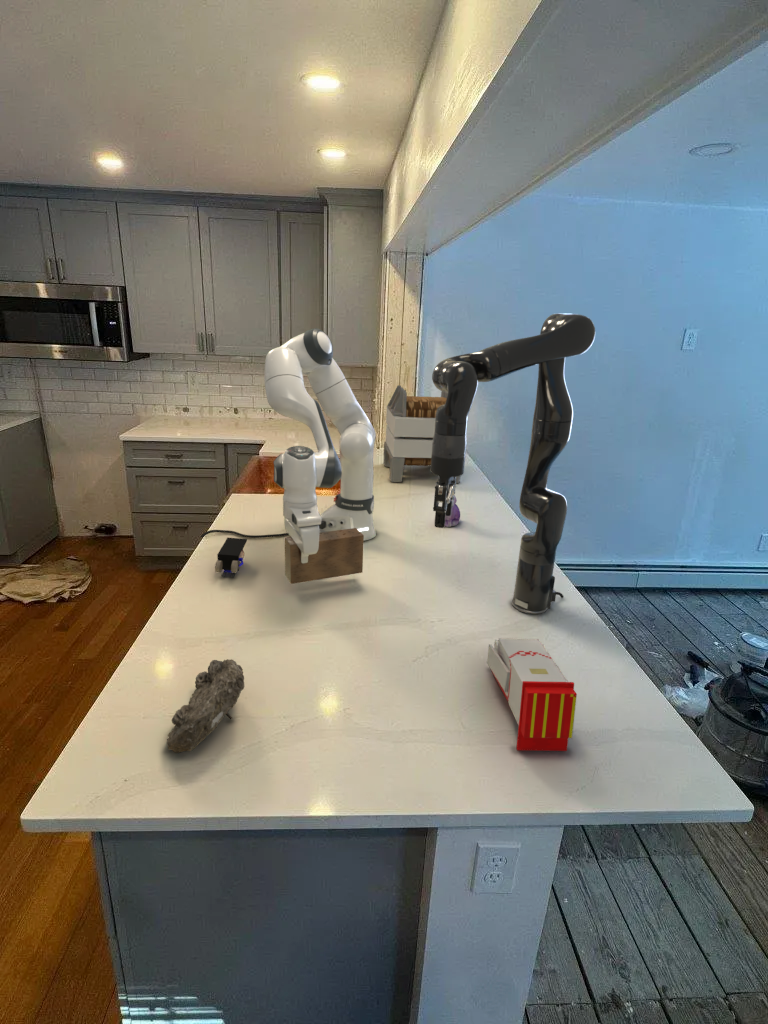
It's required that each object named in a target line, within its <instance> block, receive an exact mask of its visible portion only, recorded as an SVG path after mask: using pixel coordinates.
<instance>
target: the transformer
mask: <svg viewBox="0 0 768 1024" xmlns="http://www.w3.org/2000/svg"><path fill="white" fill-rule="evenodd" d="M440 393H441V394H440V396H415V395H414V396H413V395H412V396H411V395H407V394H408V393H407V390H406V389H404V388H403V387H402V385H399V384H398V385H397V386H396V388H395V390H394V392H393V394H392V395H391V398H390V400H389V402H388V404H387V405H386V413H385V414H386V415H385V423H386V428H385V438H384V442H383V466H384V467H388V468H389V475H388V476H389V477H388V478H389V480H390V482H391V483H402V482H403V475H404V469H405V466H406V467H407V466H411V467H412V466H413V467H415V466H416V467H417V466H418V467H431V455H432V442H433V437H434V431H435V416H436V411H437V408H438V407H439V406H441V405H445V403H446V400H447V396H448V393H446V392H443V391H440ZM459 483H461V476H459V477H456V484H459Z"/></svg>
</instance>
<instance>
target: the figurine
mask: <svg viewBox="0 0 768 1024" xmlns="http://www.w3.org/2000/svg"><path fill="white" fill-rule="evenodd" d="M453 497H454V499H453V500H451V501H452V508H451V515H450V516H445V526H444V527H446V528H449V527H455V526H457V525H458V524H459V523H460V518H461V511H460V508H459V506H458V504H456V503H457V501H458V500H457V497H456V494H454V495H453Z"/></svg>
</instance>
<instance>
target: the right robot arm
mask: <svg viewBox="0 0 768 1024" xmlns="http://www.w3.org/2000/svg"><path fill="white" fill-rule="evenodd" d="M595 338H596V327H595V323H594V322H593V320H592V319H591V318H589V317H588V316H586V315H584V314H579V313H564V312H563V313H562V312H561V313H560V312H558V313H552V314H550V315H549V316H547V317H546V319H545V320H544V322H543V324H542V326H541V329H540V332H539V334H538V335H537V334H536V335H533V336H527V337H522V338H515V339H510V340H507V341H502V342H500V343H496V344H493V345H491V346H488V347H485V348H483V349H480V350H479V351H474V352H469V353H464V354H460V355H455V356H451V357H448V358H445V359H443V360H441V361H440V362H438V363H437V365H436V366H435V367H434V369H433V371H432V374H431V380H432V383H433V385H434V386H435V388H436V389H437V390H438V391H440V392H442V391H443V392H446V393H448V396H447V400H446V403H445V405H441V406H439V407H438V408H437V411H436V416H435V431H434V437H433V442H432V455H431V465H430V468H429V470H430V471H429V472H430V473H431V474H433V475H434V476H438V480H437V481H436V482H435V486H434V498H433V507H432V510H433V512H435V515H434V527H435V528H439V529H443V528H445V527H446V526H445V516H450V515H451V508H452V501H451V500H453V499H454V497H453V495H456V485H457V483H456V477H459V476H460V477H461V476H464V473H465V464H466V455H467V454H466V453H467V430H468V422H469V421H468V419H469V418H468V417H469V413H470V412H471V411H470V410H471V409H472V406H473V403H474V399H475V396H476V393H477V390H478V386H479V383H489V382H492V381H495V380H498V379H500V378H503V377H506V376H508V375H510V374H513V373H516V372H519V371H521V370H524V369H527V368H530V367H533V366H536V365H538V374H537V376H538V377H537V386H536V394H535V395H536V396H535V405H534V412H533V418H532V426H531V434H530V435H531V436H530V444H529V451H528V457H527V463H526V469H525V474H524V479H523V483H522V487H521V491H520V495H519V503H518V504H519V506H518V508H519V512H520V514H521V516H522V517H523V518H524V519H526V520H528V521H531V522H532V523H535V524H536V528H535V531H531V532H527V533H524V534H523V535H522V536H521V539H520V545H519V552H518V558H517V559H518V561H517V568H516V573H515V581H514V590H513V595H512V596H513V597H512V601H511V604H512V606H513V608H514V609H516V610H517V611H519V612H521V613H525V614H529V615H530V614H531V615H539V614H540V615H541V614H544V613H546V612H547V611H548V610H550V609H551V606H552V603H553V602H556V598H557V596H559V597H560V598H561V599H564V598H565V597H564V595H563V593H562V592H560V591H556V590H554V586H555V582H556V577H555V575H554V568H555V561H556V556H557V555H556V554H557V548H558V545H559V544H560V541H561V539H562V537H563V532H564V526H565V522H566V518H567V513H568V502H567V499H566V497H565V496H564V495H563V494H561V493H559V492H558V491H554V490H552V489H549V488H548V479H549V474H550V470H551V467H552V466H553V464H554V463H555V461H556V459H557V458H558V457H559V456H560V455H561V453H562V452H563V450H564V449H565V448H566V446H567V445H568V443H569V441H570V438H571V433H572V425H573V419H574V408H573V403H572V400H571V397H570V393H569V391H568V387H567V384H566V379H565V365H566V364H565V363H566V358H569V357H570V358H571V357H576V356H581V355H582V354H584V353H586V352H587V351H589V349H590V348H591V347H592V345H593V343H594V341H595ZM440 503H441V506H439V504H440Z"/></svg>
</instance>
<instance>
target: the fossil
mask: <svg viewBox="0 0 768 1024" xmlns="http://www.w3.org/2000/svg"><path fill="white" fill-rule="evenodd" d="M243 670H244V669H243V667H242V665H240V664H237V662H236V661H235V660H234V659H232V658H231V659H227V658H226V659H224V660H223V661H222V660H217V659H212V660H211V661H210V663H209V665H208V666H207V671H201V672H199V673H198V674H197V675H196V676H195V680H194V684H195V685H194V687H195V689H194V690H193V693H192V694H191V697H190V698H189V700H188V704H184V705H182V706H181V707H180V709H177V710H176V711H175V713H174V715H173V716H172V718H171V723H172V724H173V727H172V730H171V731H170V732H168V734H167V738H166V741H167V742H166V745H167V749H168V750H169V751H173V752H174V753H176V754H178V753H182V752H188V751H189V752H192V751H193V750H195V748H196V747H197V746H199V744H200V743H201V742H203V741H204V740H205V739H206V738H207V737H208V736H209V735H210V734H211V733H212V732H214V730H215V729H217V727H218V726H219V724H220V722H221V721H222V720H223V719H224V718H225V716H226V717H227V719H229V720H233V717H232V715H230V714H229V710H230V709H231V708H234V706H235V704H236V703H237V702H238V699H239V697H240V695H241V693H242V691H243V690H245V689H244V688H245V675H244V671H243Z"/></svg>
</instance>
